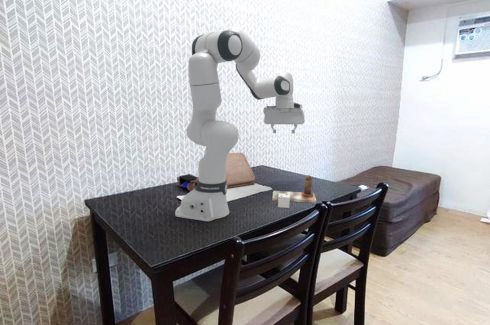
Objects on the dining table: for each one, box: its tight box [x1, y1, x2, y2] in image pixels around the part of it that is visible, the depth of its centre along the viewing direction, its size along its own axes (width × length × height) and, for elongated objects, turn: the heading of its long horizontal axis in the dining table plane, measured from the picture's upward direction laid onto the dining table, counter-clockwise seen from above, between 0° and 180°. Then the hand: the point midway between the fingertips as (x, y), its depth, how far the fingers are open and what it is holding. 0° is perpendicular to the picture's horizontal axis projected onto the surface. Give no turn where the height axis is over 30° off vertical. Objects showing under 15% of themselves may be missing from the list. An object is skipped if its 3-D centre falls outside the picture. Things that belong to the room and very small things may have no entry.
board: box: [272, 190, 317, 204], centre depth 145 cm, size 20×11×1 cm, turn 83°
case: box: [226, 152, 256, 189], centre depth 168 cm, size 20×21×16 cm
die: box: [277, 193, 291, 209], centre depth 134 cm, size 5×5×5 cm
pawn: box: [302, 175, 314, 198], centre depth 143 cm, size 5×5×10 cm
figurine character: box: [176, 173, 199, 192], centre depth 156 cm, size 7×8×15 cm
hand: (283, 133), depth 150 cm, fingers open, 8 cm apart
